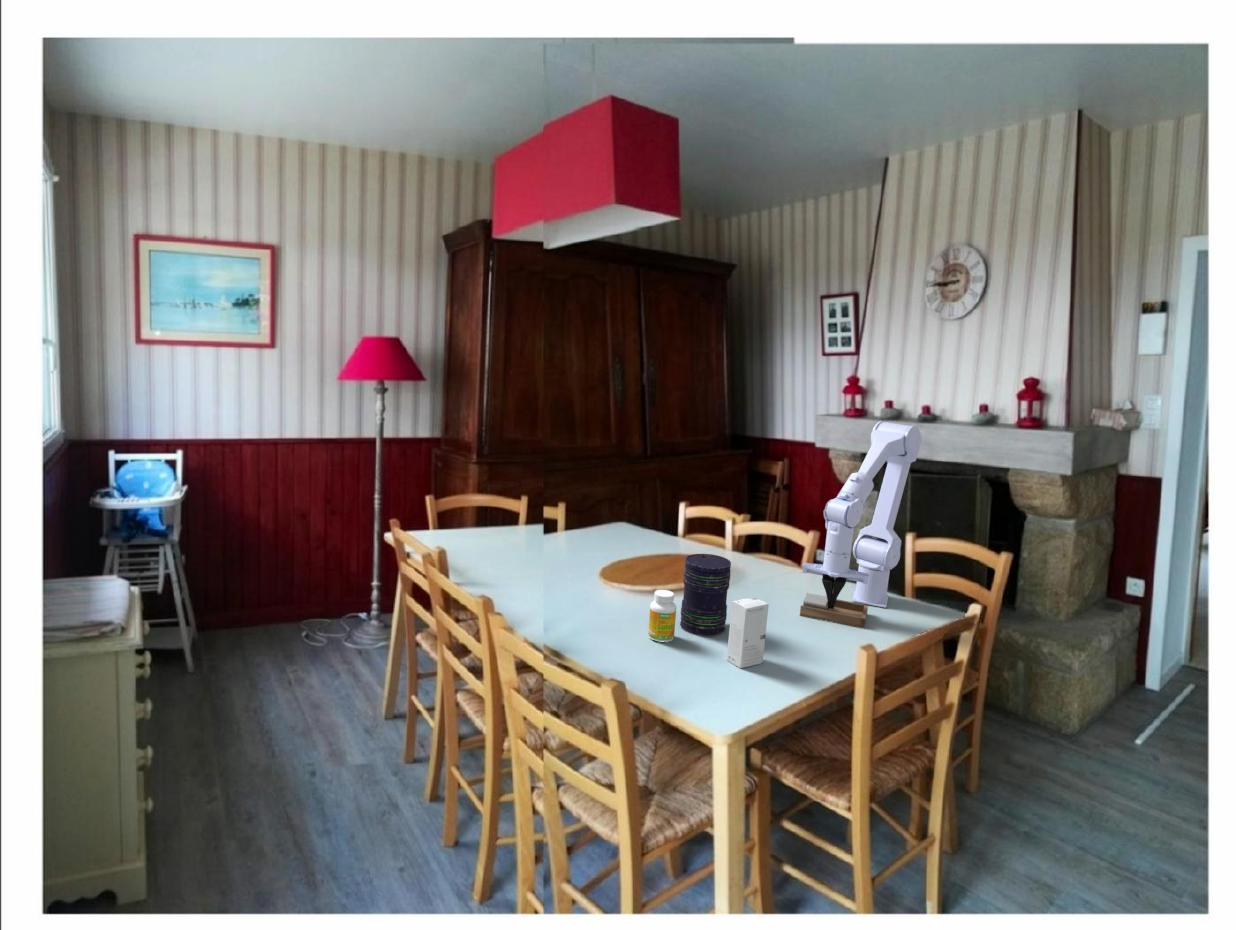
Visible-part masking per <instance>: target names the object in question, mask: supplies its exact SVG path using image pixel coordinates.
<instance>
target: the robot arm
mask: <svg viewBox="0 0 1236 930" xmlns="http://www.w3.org/2000/svg"><path fill="white" fill-rule="evenodd" d="M921 433H922V432H921V431H920V428H919V427H918V426H917V425H907V424H901V423H894V422H886V421H883V420H880V421H878V422H877V423H876V424H875V425H874V426H873V428H872V431H871V433H870V444H871V445H870V447H869V449H868V452H867V453H866V455H865V457H864V460H863V462H862V464H861V466H860V467H859V469H858V471H857V472H853V473H851V474H850V475H849V477H848V478H847V480H846V481H845V483H844V485H843V486H842V488H841V489H840V491H839V492H838V494H837V496H836V497H835V498H833V499H830V500H828V501H827V503H826V504H825V507H824V510H823V518H824V520H825V524H824V525H825V526H824V527H825V529H826V538H825V545H824V546H825V547H824V555H823V562H822V563H823V564H820V563H808V562H804V563H803V564H802V570H801V571H802V574H813V575H818V576H822V578H821V582H822V585H823V588H824V591H825V594H826V595H825V596H826V597H827V600H828V608H831V609H834V605H835V601H836V599H837V598H838V597H839V595H840V594H841V592H842V590H843V589H844V587H845V585H846V583H847V581H854V582H856V586H855V589H854V592H853V594H852V595H853V596H852V600H851V602H854V603H859V604H865V605H868V606H875V607H880V608H884V609H885V608H887V607H888V600H889V594H888V587H889V586H888V585H889V578H890V572H891V570H893V569H894V568H895V567H896V566H897V565H898V563H899V561H900V558H901V546H902V540H901V538H900V537H899V536H898V534H897V533H896V531H895V530H894V526H895V523H896V519H897V515H898V512H899V508H900V505H901V500H902V497H903V493H904V489H905V486H906V483H907V478H908V474H909V471H910V468H911V464H912V463H913V462H916V461H917V458H918V455H919V451H920V447H921V445H922V444H921V443H922V434H921ZM885 463H887V464H886V468H885V472H884V476H883V479H882V483H881V487H880V491H879V494H878V499H877V501H876V506H875V509H874V512H873V513H874V514H873V516H872V521H871V524H869V525H868V526H864V528H861V529H860V530H859V533H858V535H857V538H856V539H855V541H854V542H853V537H854V530H855V527H856V526H857V525H858V524H859V522H860V521H861V518H862V513H863V510H864V508H865V507H864V503H865V501H866V500H867V498H868V497H869V495H870V493H871V491H872V490H873V488H874V486H875V485H874V481H873V479H874V478H875V476H876V475H877V474H878V472H879V471H880V469H882V467H883V466H884V464H885ZM874 537H875V538H874ZM877 538H879V539H877ZM881 539H883V540H881ZM852 554H853V557H854V559H855V560H856V564H858V569H857V570H855V569H851V568H850V563H851V556H852Z"/></svg>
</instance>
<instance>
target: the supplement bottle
mask: <svg viewBox="0 0 1236 930" xmlns="http://www.w3.org/2000/svg"><path fill="white" fill-rule="evenodd" d="M653 598H654V599H653V601H651V603H650V607H649V614H648V615H649V617H648V629H647V630H648V631H647V635H648V634H649V636H650V637H651V638H652V639H654V640H656V641H664V642H666V643H670V642H672V641H673V640H674V638H675V630H676V629H675V628H676V617H677V605H676V603H675V602H674V600H675V593H674V592H673V591H671V590H667V589H657V590H655V591H654V595H653ZM669 641H670V642H669Z"/></svg>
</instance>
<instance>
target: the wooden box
mask: <svg viewBox="0 0 1236 930" xmlns="http://www.w3.org/2000/svg"><path fill="white" fill-rule="evenodd" d="M805 595H807V593H806V594H805ZM868 610H869V605H868V604H863V603H857V602H853V601H849V600H848V601H847V600H843V599H836V601H835V605H834V609H831V608H827V610H823V609H817V608H812V607H807V606H803V604H801V605H800V609H799V616H800V617H806V618H810V619H815V618H818V619H817V620H820V619H822V620H821V621H825V620H827V621H826V622H830V621H833V622H832V623H835V622H837V623H836V624H840V625H844V626H851V627H856V628H861V629H865V626H866V621H867V616H868Z"/></svg>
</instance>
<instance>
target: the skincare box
mask: <svg viewBox="0 0 1236 930" xmlns="http://www.w3.org/2000/svg"><path fill="white" fill-rule="evenodd" d="M768 613H769V603H768V602H766V601H763V600H761V599H759V598H756V597H750V598H742V599H739V600H733V601H731V612H730V621H729V631H728V641H727V642H728V643H727V653H726V661H728V662H729V663H730V664H732V665H734V666H735V667H737V668H739V669H743V668H748V667H753V666H756V665H761V664H762V663H763V661H764V656H765V655H764V653H765V644H766V635H767V634H766V632H767V622H768Z"/></svg>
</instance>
